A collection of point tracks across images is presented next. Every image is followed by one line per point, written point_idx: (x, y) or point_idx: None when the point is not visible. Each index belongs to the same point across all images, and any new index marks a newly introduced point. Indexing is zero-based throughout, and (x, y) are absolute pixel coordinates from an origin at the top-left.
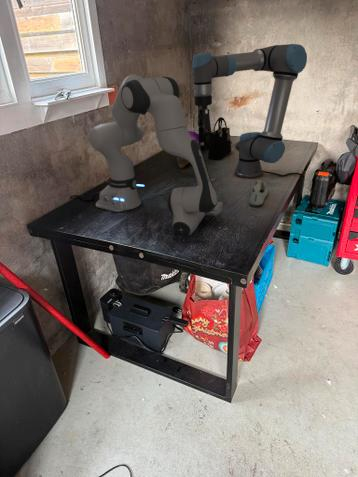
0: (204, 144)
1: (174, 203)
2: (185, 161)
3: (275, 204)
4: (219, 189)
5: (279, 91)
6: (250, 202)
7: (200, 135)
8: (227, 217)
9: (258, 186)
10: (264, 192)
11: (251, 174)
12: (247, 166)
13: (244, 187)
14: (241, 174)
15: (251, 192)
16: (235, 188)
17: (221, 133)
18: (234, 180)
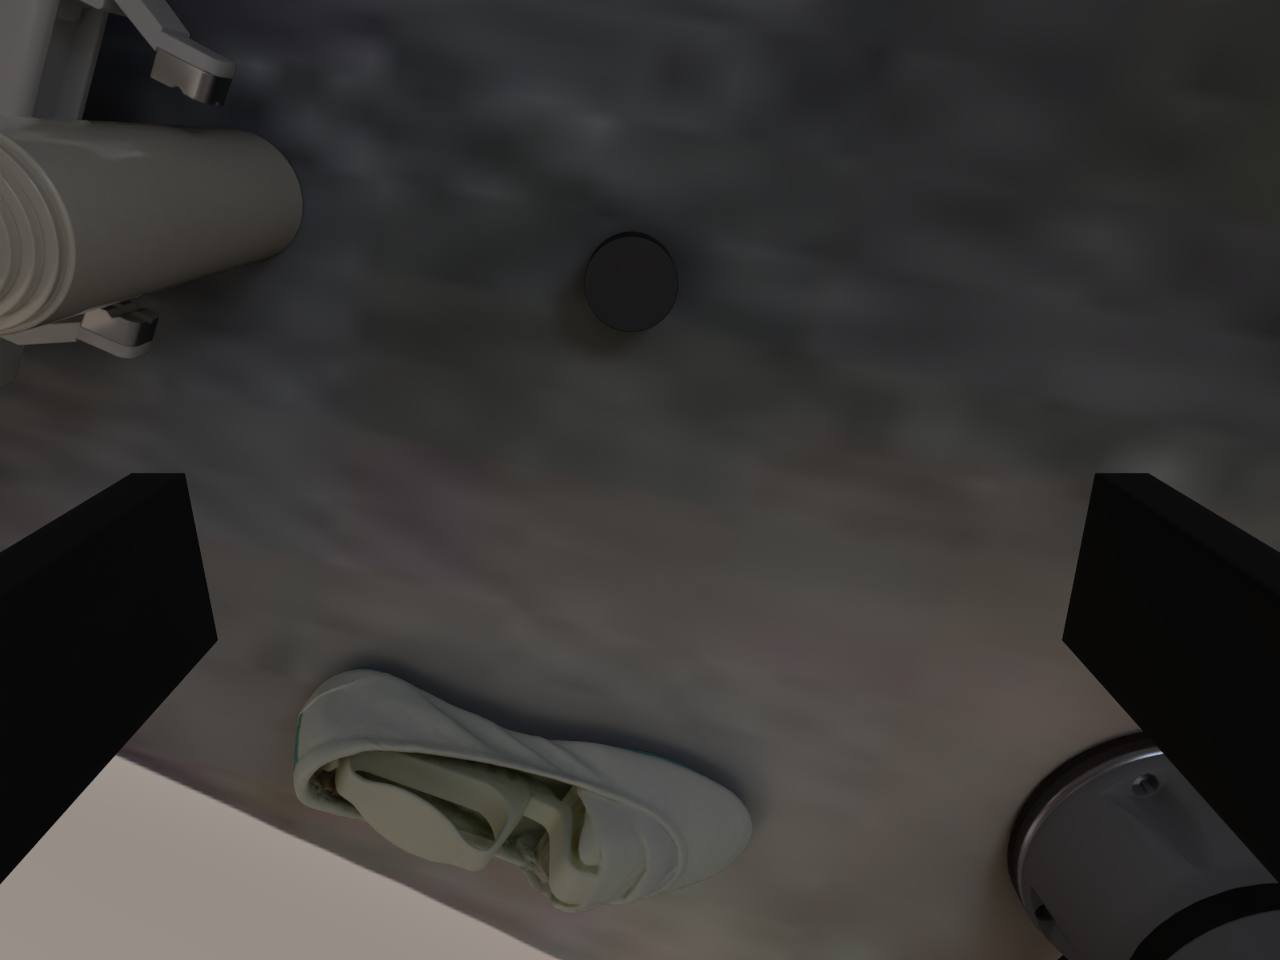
0: (24, 544)
1: None
2: None
3: (368, 833)
4: (833, 487)
5: None
6: (343, 675)
7: (1217, 624)
8: (125, 411)
9: (419, 839)
10: (482, 836)
11: (1028, 858)
12: (1109, 894)
13: (803, 718)
14: (1088, 780)
15: (370, 743)
16: (806, 639)
17: None
18: (1025, 681)
